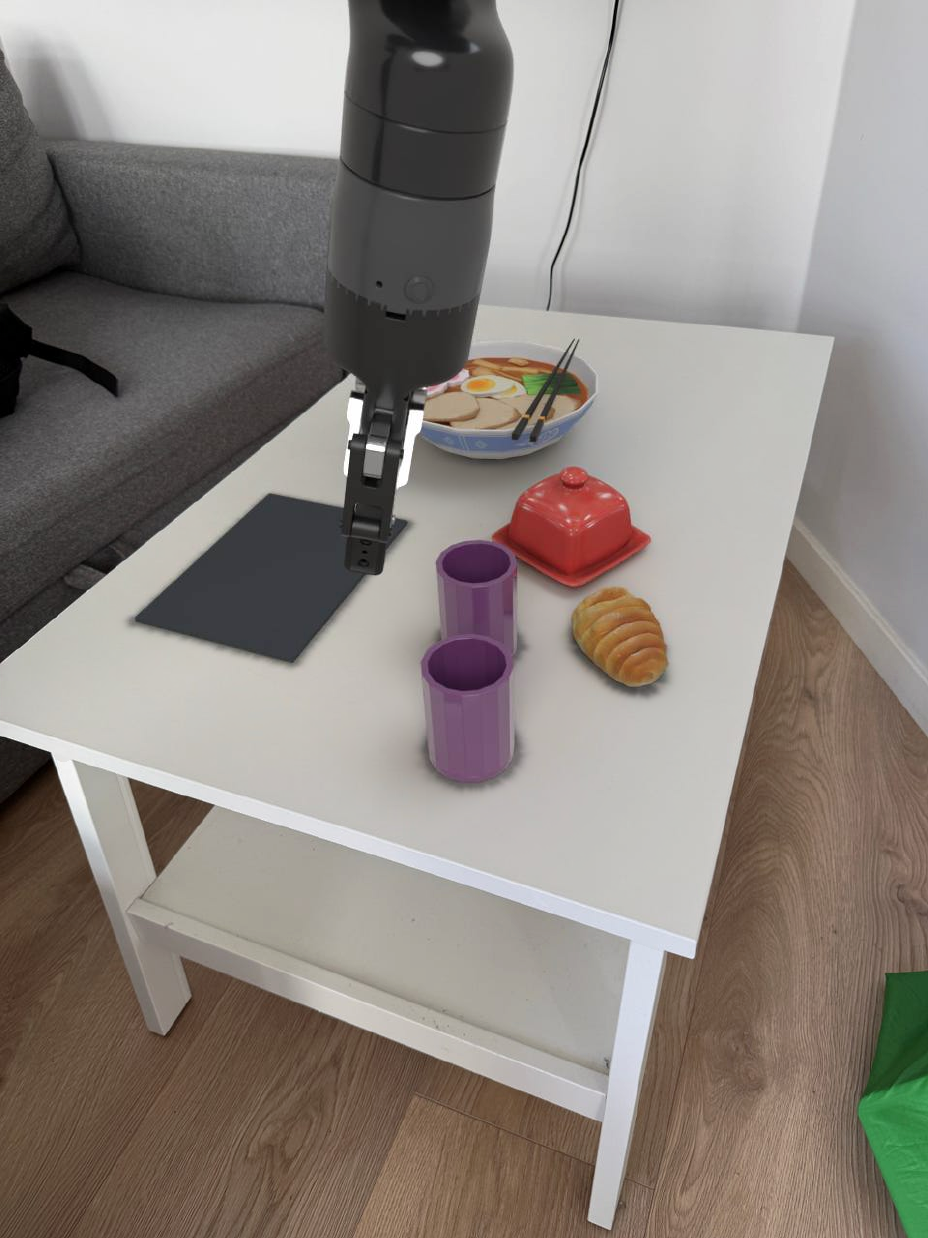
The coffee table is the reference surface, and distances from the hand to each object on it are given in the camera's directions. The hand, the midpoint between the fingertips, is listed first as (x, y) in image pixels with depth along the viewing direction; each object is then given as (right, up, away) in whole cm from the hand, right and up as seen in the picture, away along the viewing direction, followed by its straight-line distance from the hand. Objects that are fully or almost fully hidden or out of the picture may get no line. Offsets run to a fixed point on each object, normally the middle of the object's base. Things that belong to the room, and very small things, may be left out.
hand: (373, 522), depth 55 cm
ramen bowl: (+9, +14, +48) cm, 50 cm away
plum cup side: (+7, -8, +20) cm, 23 cm away
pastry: (+18, -8, +20) cm, 28 cm away
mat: (-12, -1, +30) cm, 32 cm away
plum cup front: (+6, -15, +11) cm, 20 cm away
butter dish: (+16, +1, +31) cm, 35 cm away
